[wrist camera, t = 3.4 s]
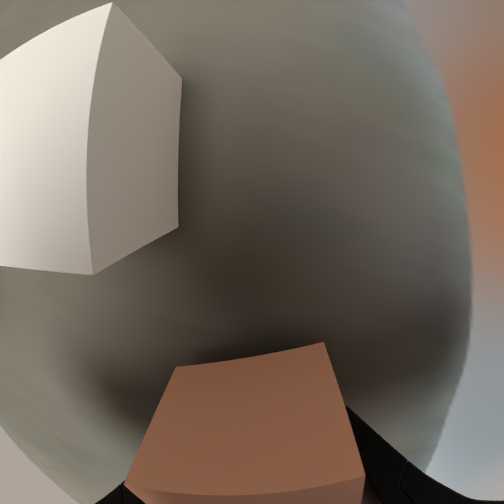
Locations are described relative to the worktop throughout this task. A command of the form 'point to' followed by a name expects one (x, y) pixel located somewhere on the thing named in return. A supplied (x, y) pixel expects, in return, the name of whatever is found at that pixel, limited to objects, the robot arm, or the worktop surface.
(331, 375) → the terracotta cube
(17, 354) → the worktop surface
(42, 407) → the worktop surface
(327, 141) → the worktop surface
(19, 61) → the off-white cube
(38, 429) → the worktop surface
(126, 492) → the robot arm
